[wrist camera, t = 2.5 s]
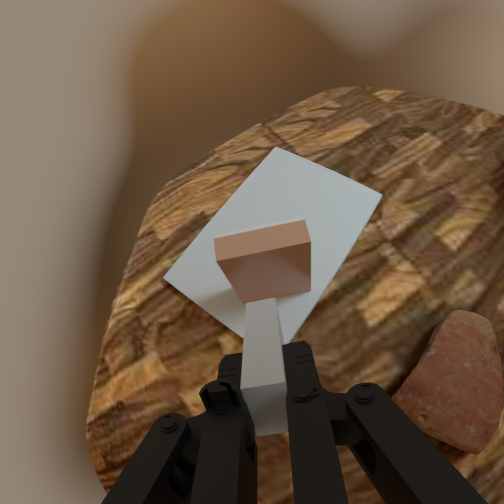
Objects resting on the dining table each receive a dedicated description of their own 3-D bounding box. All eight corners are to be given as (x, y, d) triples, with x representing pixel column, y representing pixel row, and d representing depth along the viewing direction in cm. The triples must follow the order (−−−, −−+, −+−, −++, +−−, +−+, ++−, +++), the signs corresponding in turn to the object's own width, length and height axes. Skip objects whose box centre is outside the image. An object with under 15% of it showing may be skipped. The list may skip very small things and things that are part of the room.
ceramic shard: (539, 345, 23) (481, 462, 21) (511, 346, 29) (458, 447, 27) (461, 285, 27) (391, 416, 25) (437, 294, 33) (375, 403, 31)
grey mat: (276, 150, 48) (275, 146, 47) (381, 198, 41) (382, 194, 40) (165, 279, 41) (162, 277, 40) (276, 361, 34) (275, 360, 33)
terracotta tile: (310, 290, 36) (310, 241, 26) (243, 304, 37) (215, 261, 26) (306, 271, 37) (304, 216, 27) (240, 284, 38) (213, 235, 27)
